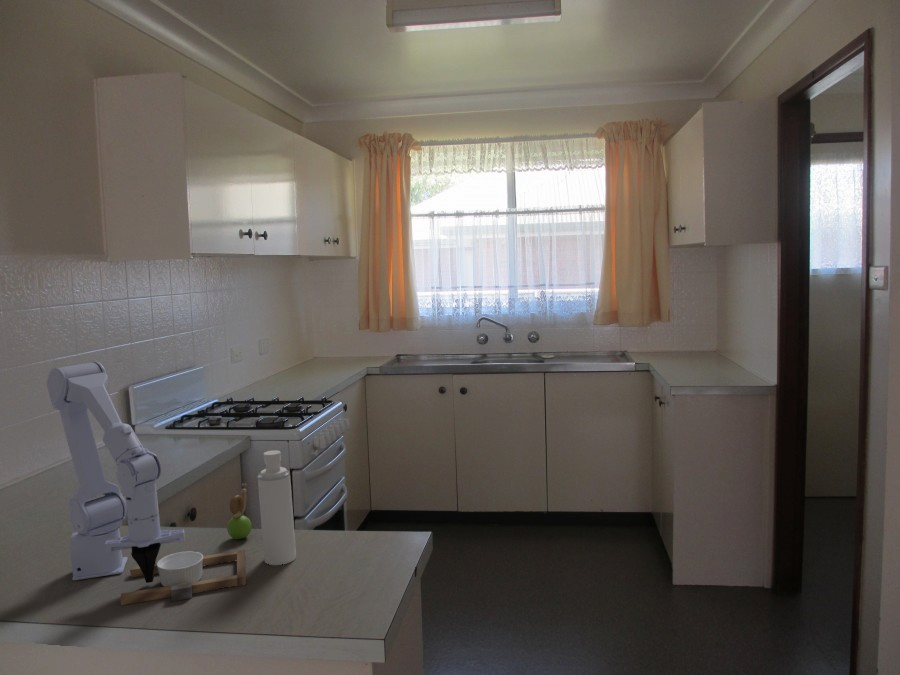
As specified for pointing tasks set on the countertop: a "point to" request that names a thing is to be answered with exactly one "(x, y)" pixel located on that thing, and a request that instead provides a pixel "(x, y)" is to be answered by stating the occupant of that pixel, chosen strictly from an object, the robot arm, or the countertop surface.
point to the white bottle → (276, 511)
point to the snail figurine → (239, 517)
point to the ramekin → (180, 568)
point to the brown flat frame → (188, 589)
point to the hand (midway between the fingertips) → (149, 580)
